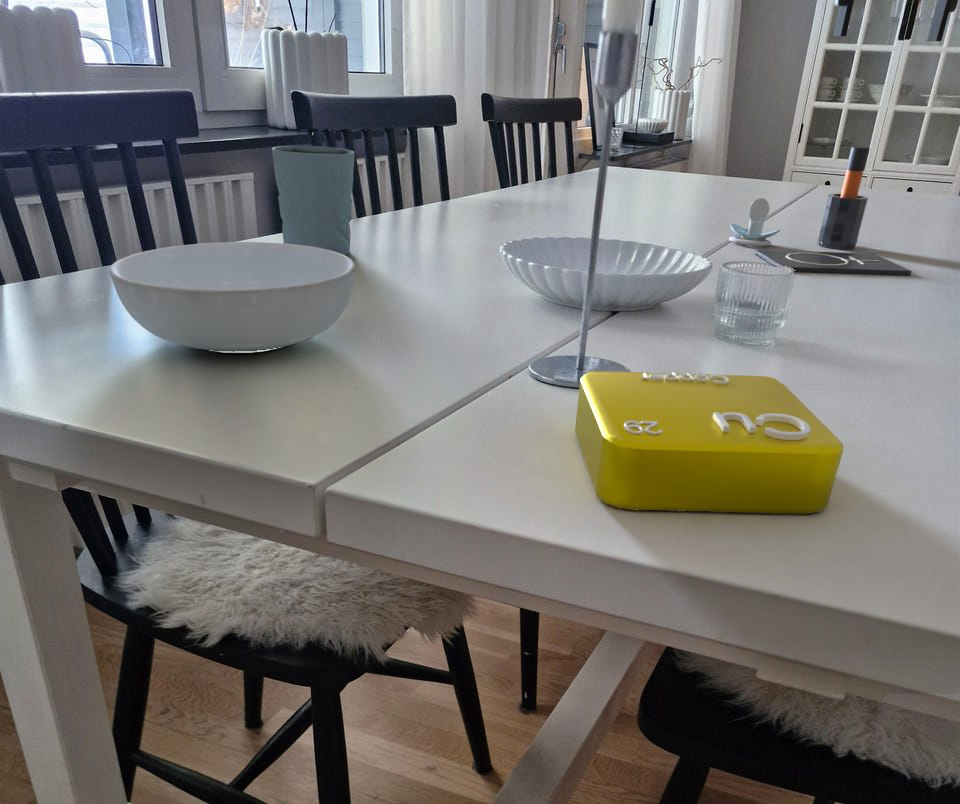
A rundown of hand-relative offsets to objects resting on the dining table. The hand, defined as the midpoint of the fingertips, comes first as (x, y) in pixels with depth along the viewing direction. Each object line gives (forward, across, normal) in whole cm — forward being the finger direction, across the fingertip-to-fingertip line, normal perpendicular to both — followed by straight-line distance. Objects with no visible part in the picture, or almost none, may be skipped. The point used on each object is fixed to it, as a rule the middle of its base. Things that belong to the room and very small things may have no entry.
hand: (886, 39), depth 124 cm
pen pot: (+27, 0, 0) cm, 27 cm away
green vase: (+27, +78, +18) cm, 84 cm away
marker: (+26, 0, 0) cm, 26 cm away
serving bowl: (+27, +81, +61) cm, 105 cm away
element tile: (+27, +46, +89) cm, 104 cm away
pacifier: (+27, +14, +1) cm, 30 cm away
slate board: (+27, +7, +15) cm, 31 cm away
